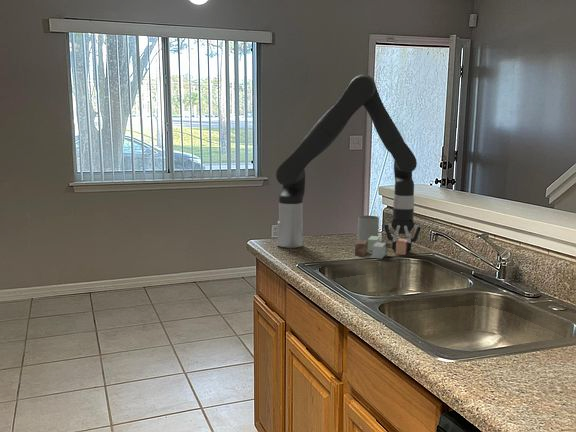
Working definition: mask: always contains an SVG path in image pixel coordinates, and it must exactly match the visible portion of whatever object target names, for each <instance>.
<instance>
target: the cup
mask: <svg viewBox="0 0 576 432" xmlns="http://www.w3.org/2000/svg"><path fill="white" fill-rule="evenodd" d="M357 219H358V220H357V241H358V240H368V239H369V238H370V237H371V236H379V226H380V225H379V224H380V217H379V216H376V215H359V216H358V217H357Z"/></svg>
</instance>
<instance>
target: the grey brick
mask: <svg viewBox="0 0 576 432" xmlns="http://www.w3.org/2000/svg"><path fill="white" fill-rule="evenodd" d="M386 247H387V242H381V241H380V242H376V243H375V244H374V245H373V251H372V252H371V253H372V257H371V258H373V259H381V260H382V259H383V258H384V257H385V255H386V252H387V251H386V250H387V249H386Z"/></svg>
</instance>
